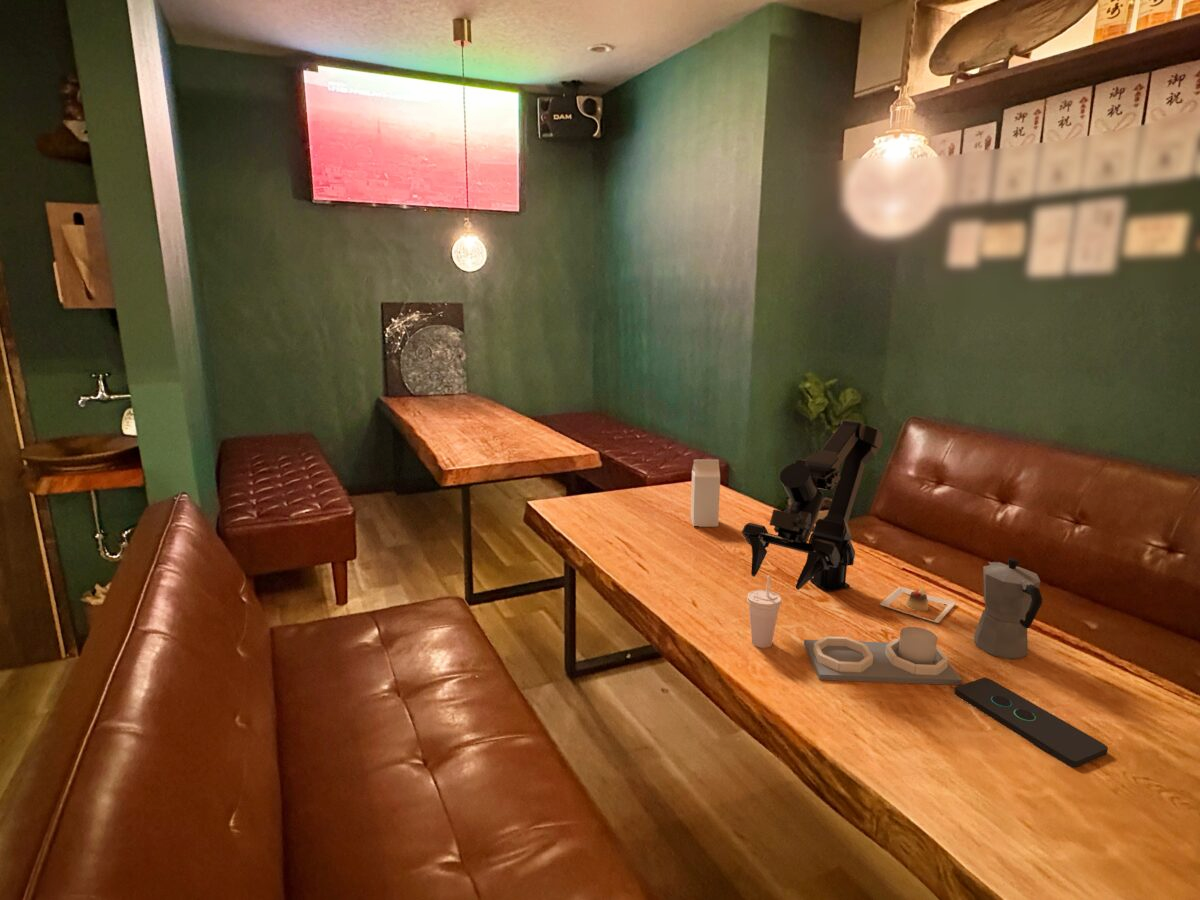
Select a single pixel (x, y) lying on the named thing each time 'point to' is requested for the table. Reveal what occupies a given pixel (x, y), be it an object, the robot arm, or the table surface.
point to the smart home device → (1032, 722)
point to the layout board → (883, 659)
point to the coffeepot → (1007, 609)
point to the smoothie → (763, 615)
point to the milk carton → (705, 493)
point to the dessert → (917, 602)
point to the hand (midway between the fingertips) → (774, 582)
